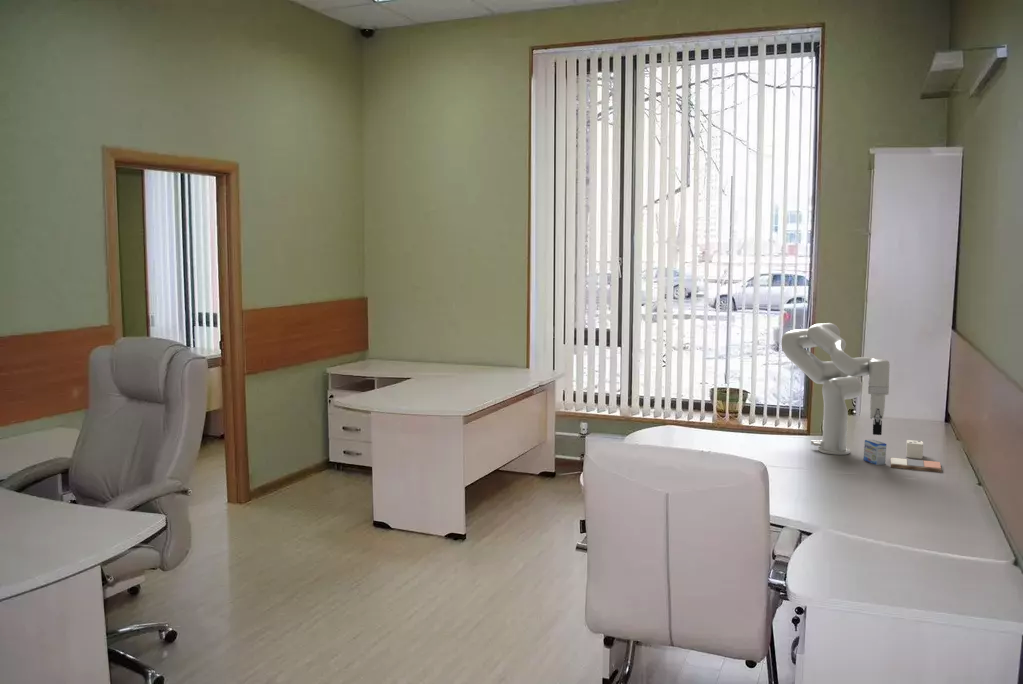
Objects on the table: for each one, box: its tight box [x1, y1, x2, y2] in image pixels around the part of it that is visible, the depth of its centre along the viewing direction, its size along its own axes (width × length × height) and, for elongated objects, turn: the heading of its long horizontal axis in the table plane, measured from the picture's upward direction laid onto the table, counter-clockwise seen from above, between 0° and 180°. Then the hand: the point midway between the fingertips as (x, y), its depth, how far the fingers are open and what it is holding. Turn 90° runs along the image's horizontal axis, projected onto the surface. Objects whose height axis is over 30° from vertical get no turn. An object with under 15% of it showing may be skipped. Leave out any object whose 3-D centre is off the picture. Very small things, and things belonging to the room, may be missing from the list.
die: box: [905, 439, 924, 460], centre depth 357 cm, size 6×6×6 cm
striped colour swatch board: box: [890, 457, 942, 473], centre depth 341 cm, size 18×12×1 cm, turn 66°
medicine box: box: [863, 439, 888, 466], centre depth 347 cm, size 8×4×9 cm, turn 17°
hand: (877, 432), depth 345 cm, fingers open, 9 cm apart
